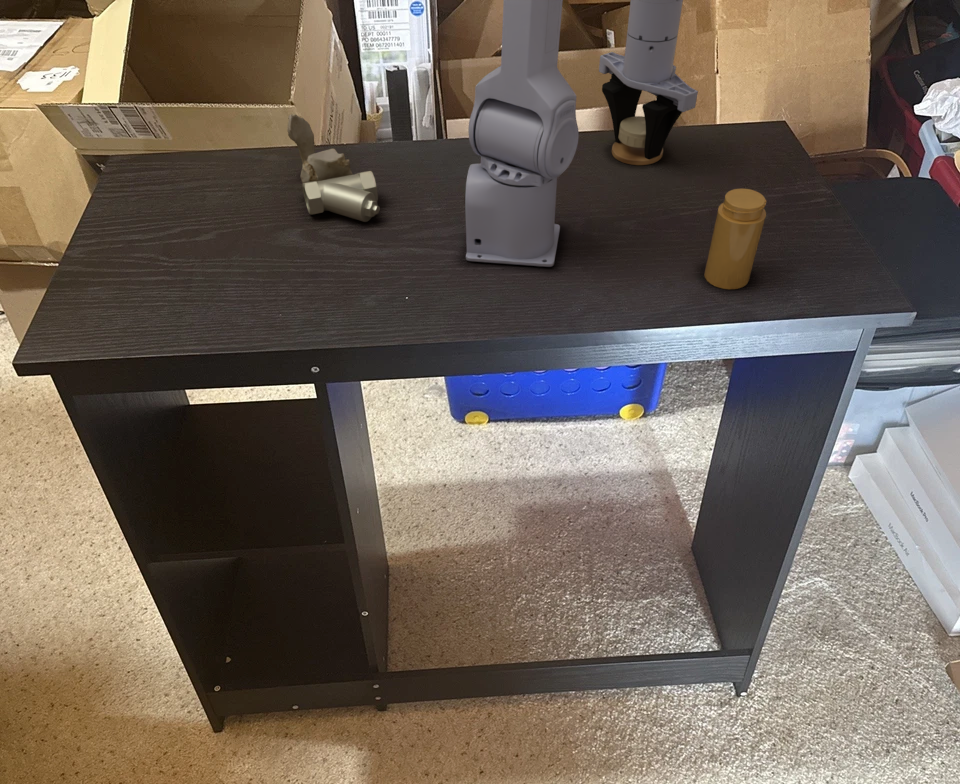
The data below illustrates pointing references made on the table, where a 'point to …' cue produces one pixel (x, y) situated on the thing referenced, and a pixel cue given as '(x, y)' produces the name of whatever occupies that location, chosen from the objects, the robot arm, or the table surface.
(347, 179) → the pipe fitting
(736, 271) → the jar
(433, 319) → the table surface
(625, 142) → the jar lid
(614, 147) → the coaster
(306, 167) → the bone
